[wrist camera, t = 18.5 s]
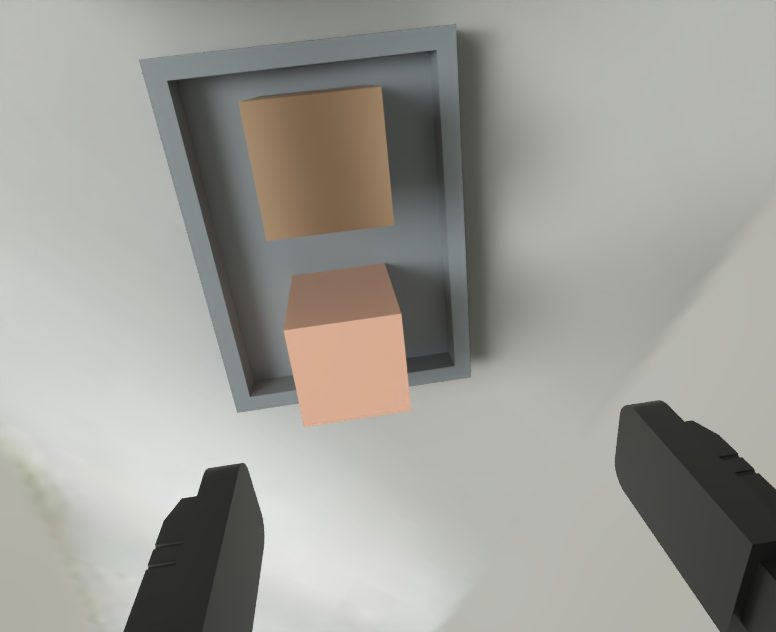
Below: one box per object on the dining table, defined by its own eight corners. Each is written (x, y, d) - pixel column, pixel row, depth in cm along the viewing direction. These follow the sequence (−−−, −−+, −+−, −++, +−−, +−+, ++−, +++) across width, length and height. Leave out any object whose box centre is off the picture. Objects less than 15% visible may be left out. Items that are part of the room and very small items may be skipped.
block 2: (308, 356, 27) (304, 426, 21) (292, 275, 25) (283, 330, 19) (393, 344, 27) (411, 410, 22) (384, 263, 25) (401, 313, 20)
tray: (154, 61, 21) (139, 59, 19) (444, 28, 22) (455, 24, 20) (243, 391, 28) (237, 412, 26) (461, 358, 28) (471, 376, 27)
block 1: (279, 203, 23) (266, 241, 18) (259, 96, 22) (238, 102, 16) (377, 191, 24) (394, 225, 18) (366, 84, 22) (381, 86, 16)
